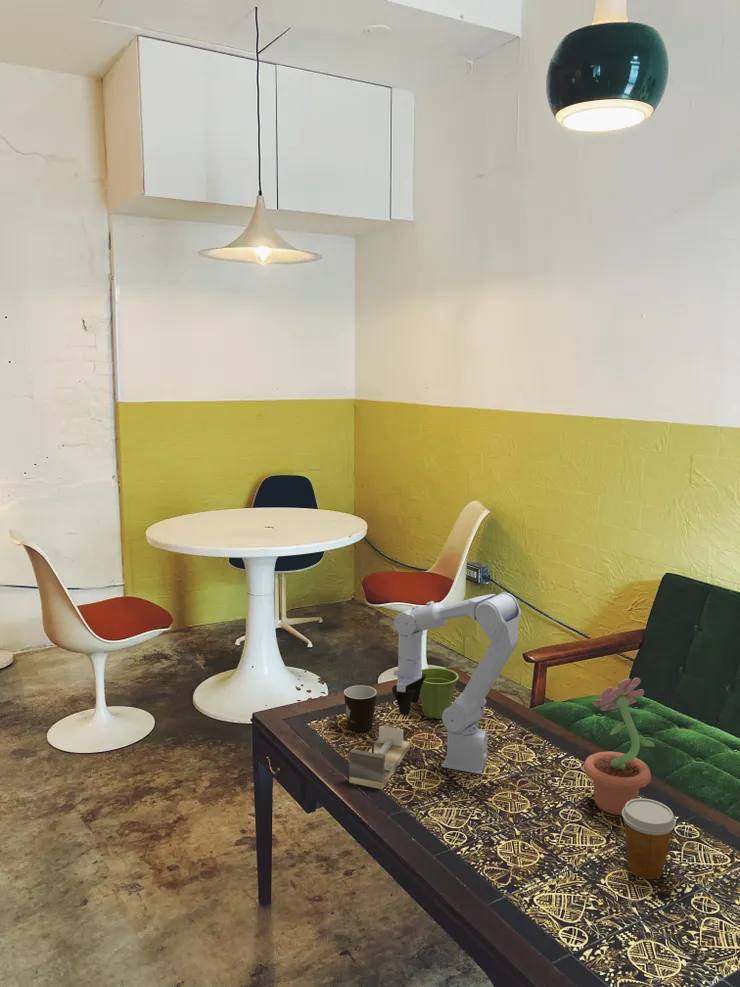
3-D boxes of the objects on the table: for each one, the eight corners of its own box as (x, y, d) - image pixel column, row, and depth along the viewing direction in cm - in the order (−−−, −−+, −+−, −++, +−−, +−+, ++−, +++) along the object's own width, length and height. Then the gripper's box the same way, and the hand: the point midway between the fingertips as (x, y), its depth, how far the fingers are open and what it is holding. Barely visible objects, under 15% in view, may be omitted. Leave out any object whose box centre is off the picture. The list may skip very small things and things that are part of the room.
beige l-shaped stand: (379, 742, 196) (380, 714, 195) (409, 747, 193) (410, 719, 192) (349, 782, 177) (349, 751, 175) (382, 789, 174) (382, 758, 173)
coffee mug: (376, 735, 199) (376, 699, 198) (342, 735, 200) (342, 698, 198) (376, 716, 211) (377, 681, 209) (345, 715, 211) (345, 680, 210)
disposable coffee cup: (629, 847, 153) (633, 791, 151) (678, 867, 147) (683, 809, 145) (610, 871, 146) (614, 812, 144) (661, 892, 140) (665, 831, 138)
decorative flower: (626, 784, 177) (634, 659, 172) (666, 817, 164) (676, 683, 159) (569, 794, 172) (576, 666, 168) (606, 829, 159) (614, 691, 155)
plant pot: (464, 711, 214) (465, 672, 213) (445, 727, 204) (446, 687, 203) (427, 701, 221) (427, 663, 219) (406, 716, 211) (407, 677, 209)
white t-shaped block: (380, 740, 193) (380, 725, 192) (403, 744, 191) (403, 729, 190) (368, 756, 185) (368, 740, 185) (392, 760, 183) (392, 744, 182)
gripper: (403, 645, 200) (402, 694, 202) (385, 664, 187) (384, 717, 189) (429, 648, 198) (428, 698, 200) (413, 668, 184) (412, 722, 186)
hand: (409, 708), depth 194 cm, fingers open, 7 cm apart
